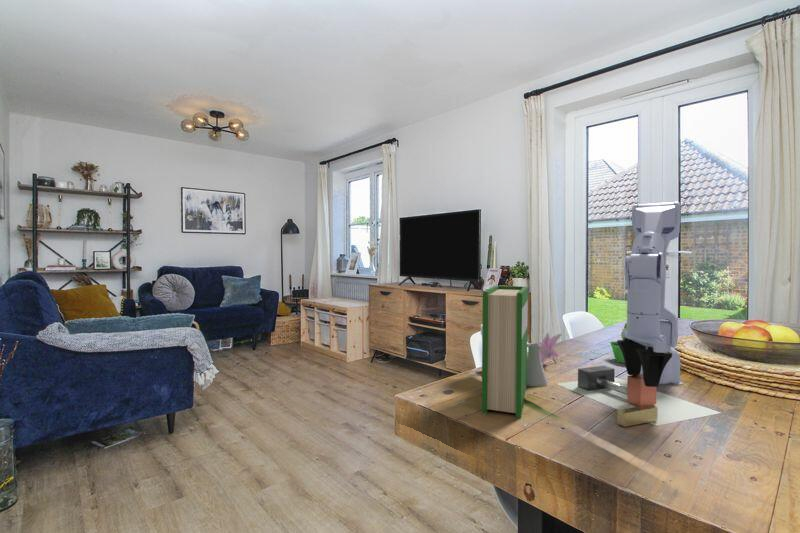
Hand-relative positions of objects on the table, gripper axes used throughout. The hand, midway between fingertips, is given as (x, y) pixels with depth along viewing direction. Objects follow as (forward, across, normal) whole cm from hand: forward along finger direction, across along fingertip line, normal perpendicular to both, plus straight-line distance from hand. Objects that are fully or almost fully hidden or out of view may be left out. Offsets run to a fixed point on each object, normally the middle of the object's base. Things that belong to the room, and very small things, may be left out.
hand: (641, 380), depth 81 cm
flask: (+6, +12, +19) cm, 23 cm away
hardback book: (+6, +2, +27) cm, 27 cm away
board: (+6, +4, 0) cm, 7 cm away
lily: (+6, +30, +12) cm, 33 cm away
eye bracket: (+5, +10, +5) cm, 13 cm away
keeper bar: (+5, -10, +5) cm, 12 cm away
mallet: (+5, +6, +3) cm, 8 cm away
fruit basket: (+6, +40, -15) cm, 43 cm away
